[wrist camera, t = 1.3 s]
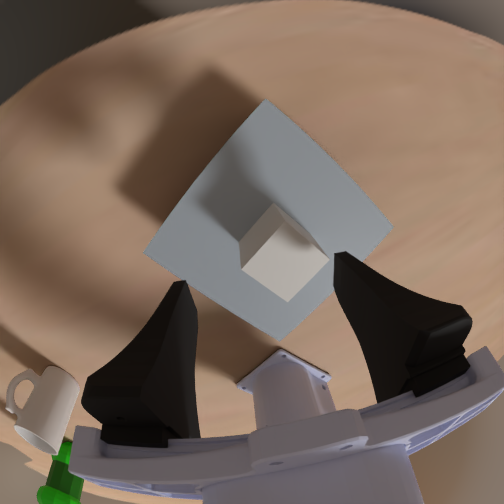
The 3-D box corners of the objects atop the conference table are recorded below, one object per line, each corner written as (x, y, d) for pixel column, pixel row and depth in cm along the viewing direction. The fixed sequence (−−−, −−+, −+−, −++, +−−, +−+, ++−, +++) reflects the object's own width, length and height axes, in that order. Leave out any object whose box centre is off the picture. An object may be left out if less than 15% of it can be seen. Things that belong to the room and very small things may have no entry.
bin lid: (388, 223, 20) (423, 247, 16) (278, 335, 23) (288, 376, 19) (264, 99, 16) (276, 87, 11) (145, 248, 19) (125, 280, 15)
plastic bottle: (49, 438, 40) (26, 518, 17) (66, 433, 38) (40, 527, 15) (83, 458, 44) (66, 537, 21) (102, 456, 42) (86, 546, 19)
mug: (89, 390, 32) (66, 455, 21) (67, 397, 33) (45, 454, 22) (40, 342, 28) (2, 405, 17) (23, 354, 29) (-10, 409, 18)
